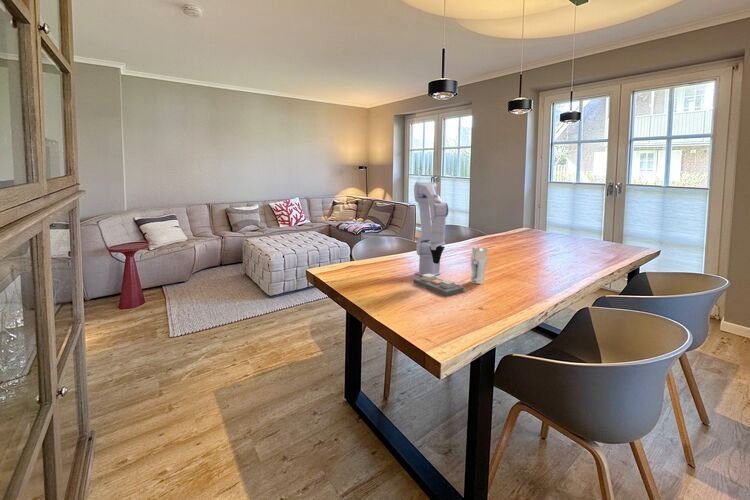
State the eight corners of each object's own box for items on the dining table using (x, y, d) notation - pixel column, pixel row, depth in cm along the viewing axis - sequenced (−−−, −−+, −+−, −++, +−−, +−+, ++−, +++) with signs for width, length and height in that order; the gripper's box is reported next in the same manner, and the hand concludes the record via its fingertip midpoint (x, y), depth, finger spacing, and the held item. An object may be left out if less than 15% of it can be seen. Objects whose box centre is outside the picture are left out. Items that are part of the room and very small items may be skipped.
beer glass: (486, 281, 167) (489, 248, 164) (483, 285, 161) (486, 251, 158) (470, 278, 170) (473, 246, 167) (467, 283, 164) (470, 249, 161)
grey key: (447, 285, 155) (447, 279, 155) (454, 288, 152) (454, 282, 152) (440, 287, 153) (440, 281, 152) (447, 289, 150) (447, 283, 149)
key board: (429, 279, 168) (430, 275, 168) (463, 291, 152) (464, 287, 152) (413, 283, 162) (413, 278, 162) (446, 296, 146) (446, 291, 146)
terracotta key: (437, 284, 160) (437, 279, 159) (444, 287, 157) (444, 281, 156) (430, 286, 158) (431, 280, 157) (437, 288, 154) (437, 283, 154)
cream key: (428, 278, 164) (429, 273, 163) (435, 281, 161) (435, 275, 160) (422, 280, 162) (422, 274, 161) (428, 282, 159) (428, 277, 158)
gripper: (433, 228, 165) (431, 258, 168) (424, 233, 152) (422, 266, 155) (448, 229, 162) (447, 260, 165) (441, 235, 149) (439, 268, 152)
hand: (436, 263), depth 160 cm, fingers closed
